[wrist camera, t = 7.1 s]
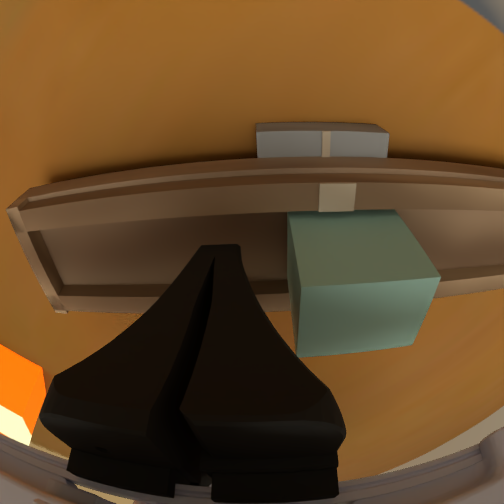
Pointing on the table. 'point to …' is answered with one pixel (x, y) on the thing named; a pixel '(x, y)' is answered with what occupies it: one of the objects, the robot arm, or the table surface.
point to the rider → (355, 281)
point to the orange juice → (19, 395)
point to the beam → (253, 216)
